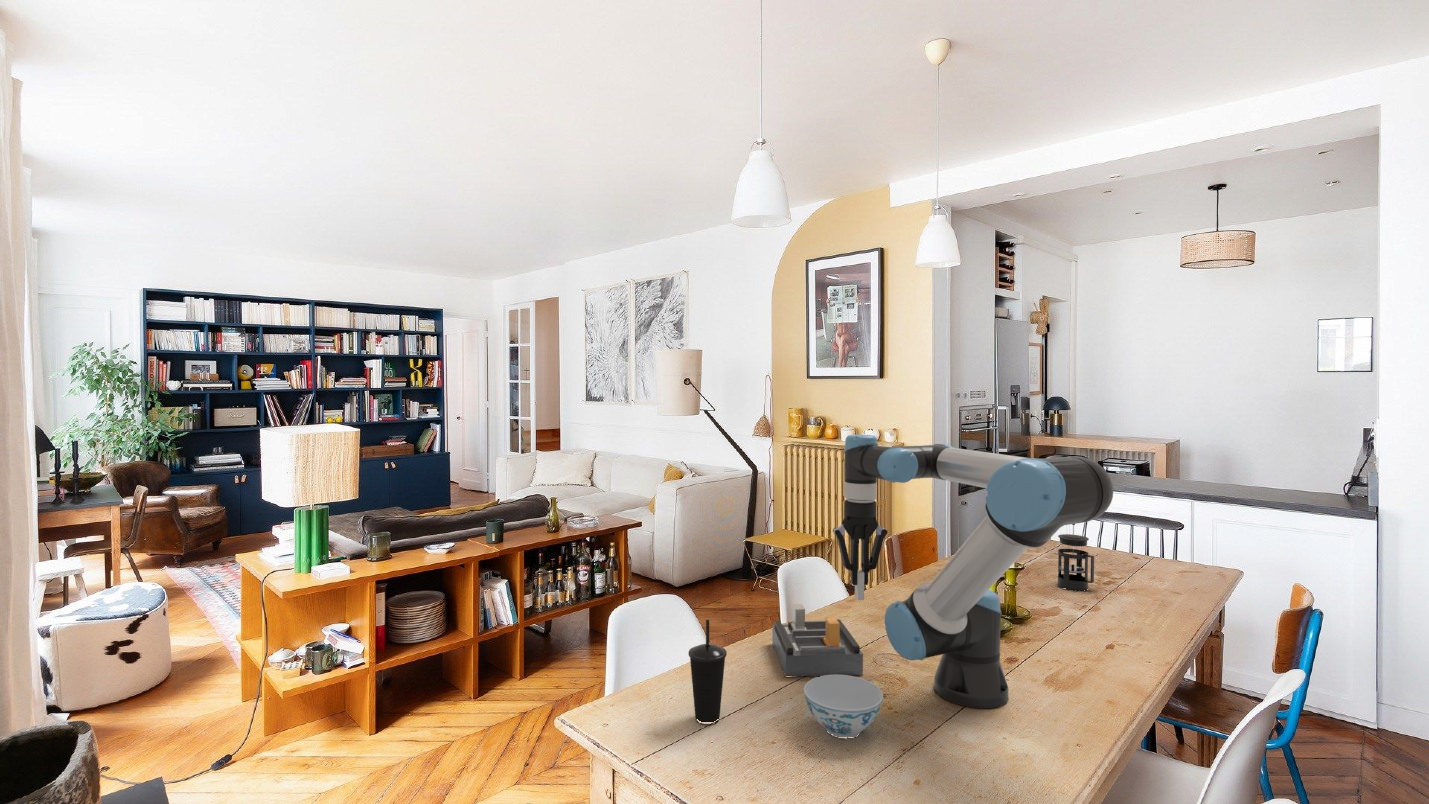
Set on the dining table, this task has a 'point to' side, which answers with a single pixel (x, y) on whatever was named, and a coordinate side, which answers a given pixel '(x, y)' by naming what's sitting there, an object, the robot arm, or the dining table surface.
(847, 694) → the chinaware
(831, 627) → the switch
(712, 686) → the drinking cup
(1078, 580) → the french press
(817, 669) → the grey compartment box
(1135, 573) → the dining table surface
